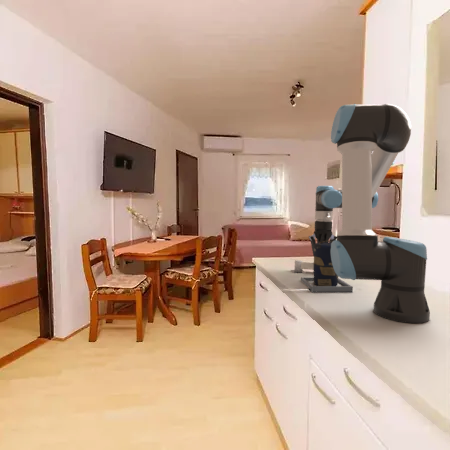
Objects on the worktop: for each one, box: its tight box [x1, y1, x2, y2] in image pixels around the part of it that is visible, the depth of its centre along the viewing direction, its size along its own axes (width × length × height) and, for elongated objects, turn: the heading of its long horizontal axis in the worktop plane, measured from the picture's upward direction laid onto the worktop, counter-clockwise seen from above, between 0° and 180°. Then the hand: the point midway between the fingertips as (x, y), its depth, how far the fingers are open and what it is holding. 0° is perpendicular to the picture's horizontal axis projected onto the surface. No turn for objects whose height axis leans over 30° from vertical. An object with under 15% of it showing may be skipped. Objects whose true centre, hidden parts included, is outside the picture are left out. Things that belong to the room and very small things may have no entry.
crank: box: [293, 259, 314, 272], centre depth 153 cm, size 16×4×7 cm, turn 76°
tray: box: [300, 277, 354, 294], centre depth 131 cm, size 15×16×2 cm
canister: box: [312, 240, 339, 286], centre depth 130 cm, size 10×10×18 cm
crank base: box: [290, 269, 307, 274], centre depth 154 cm, size 6×6×1 cm
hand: (321, 272), depth 149 cm, fingers closed
